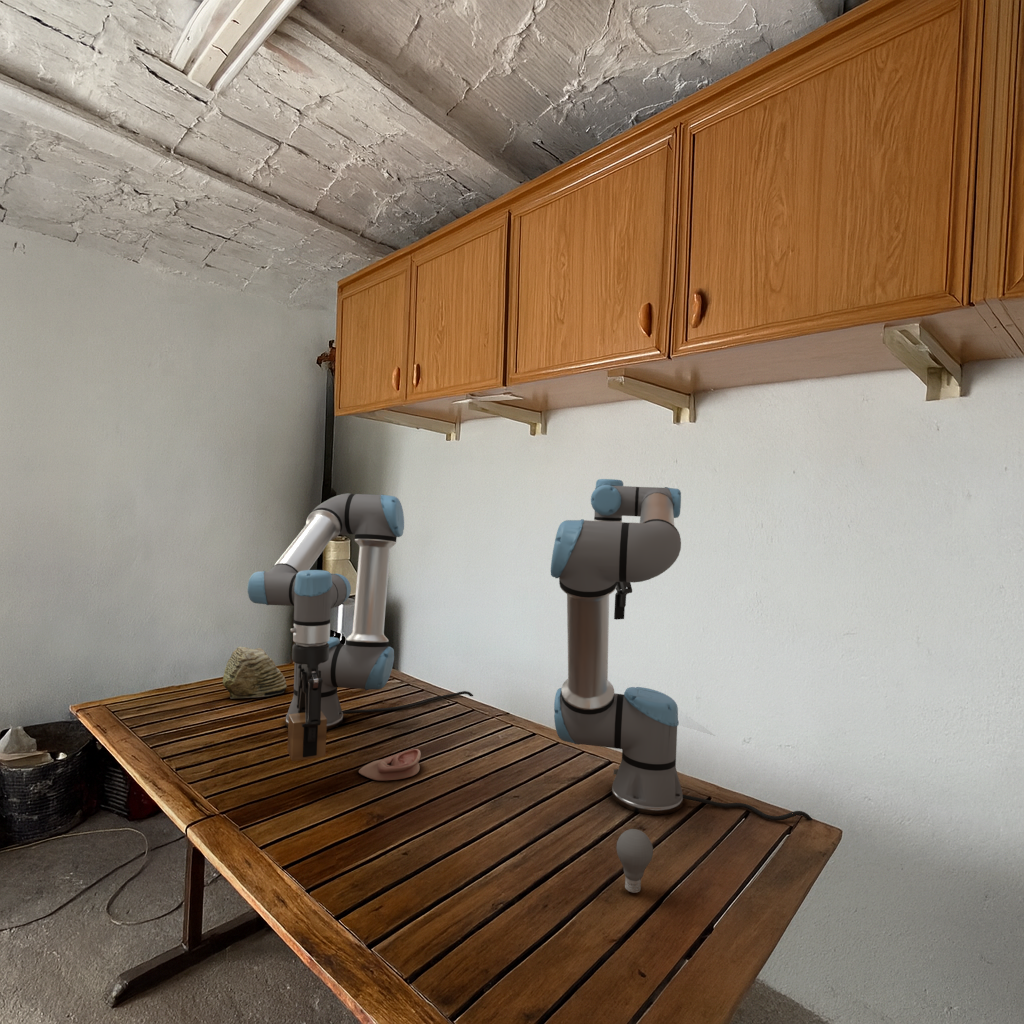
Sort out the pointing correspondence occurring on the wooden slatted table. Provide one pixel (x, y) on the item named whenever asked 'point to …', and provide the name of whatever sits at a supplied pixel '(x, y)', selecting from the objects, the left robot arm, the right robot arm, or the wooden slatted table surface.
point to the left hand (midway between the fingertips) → (306, 749)
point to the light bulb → (634, 857)
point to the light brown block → (298, 734)
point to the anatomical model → (393, 766)
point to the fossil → (252, 674)
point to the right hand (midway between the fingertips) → (603, 614)
